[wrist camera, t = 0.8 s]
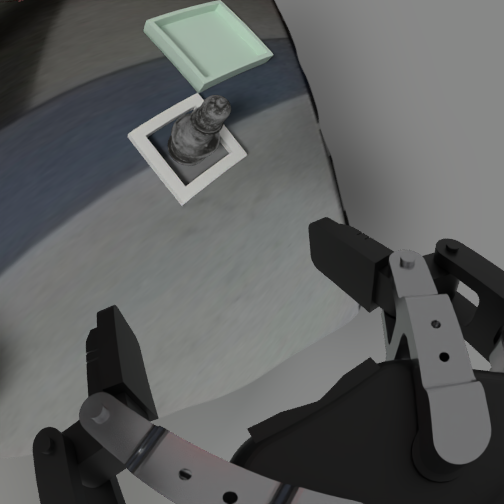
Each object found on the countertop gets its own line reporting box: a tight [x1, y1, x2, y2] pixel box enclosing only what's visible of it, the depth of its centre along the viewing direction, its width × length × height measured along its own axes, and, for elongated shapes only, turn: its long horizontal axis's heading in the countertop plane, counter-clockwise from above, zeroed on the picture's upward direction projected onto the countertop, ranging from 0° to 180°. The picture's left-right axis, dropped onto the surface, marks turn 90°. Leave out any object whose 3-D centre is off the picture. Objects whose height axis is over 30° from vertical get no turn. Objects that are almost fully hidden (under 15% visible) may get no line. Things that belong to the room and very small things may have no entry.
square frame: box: [128, 93, 247, 205], centre depth 34 cm, size 11×11×1 cm
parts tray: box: [143, 0, 273, 93], centre depth 35 cm, size 15×15×2 cm
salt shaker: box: [168, 95, 231, 166], centre depth 29 cm, size 6×6×12 cm
